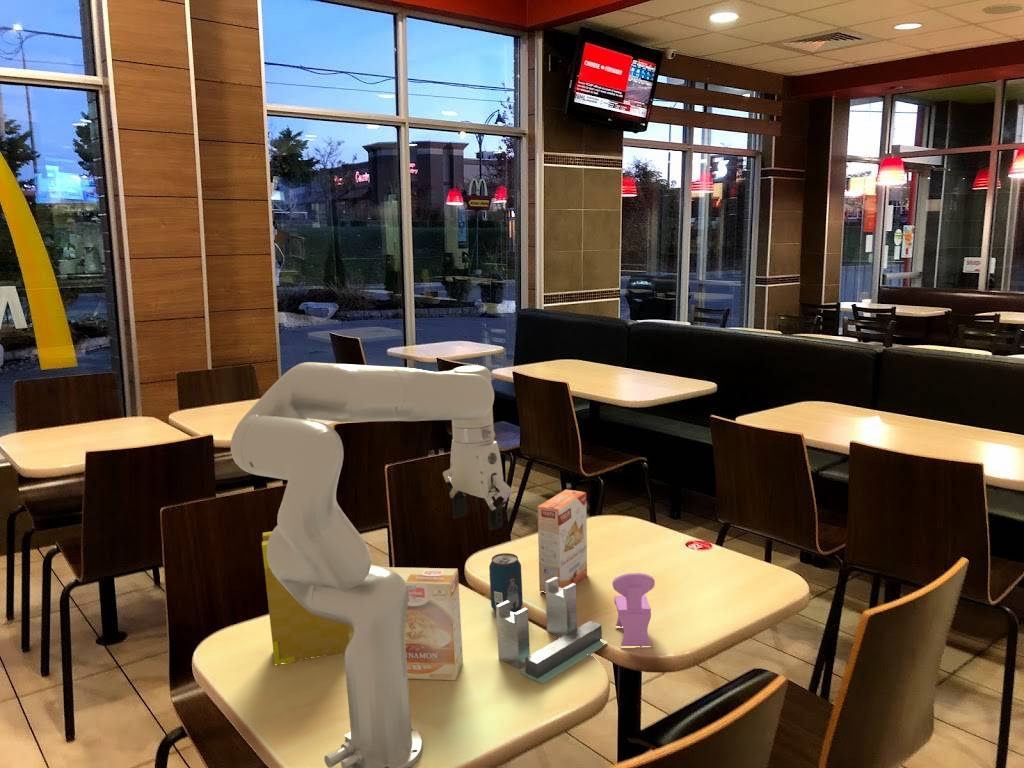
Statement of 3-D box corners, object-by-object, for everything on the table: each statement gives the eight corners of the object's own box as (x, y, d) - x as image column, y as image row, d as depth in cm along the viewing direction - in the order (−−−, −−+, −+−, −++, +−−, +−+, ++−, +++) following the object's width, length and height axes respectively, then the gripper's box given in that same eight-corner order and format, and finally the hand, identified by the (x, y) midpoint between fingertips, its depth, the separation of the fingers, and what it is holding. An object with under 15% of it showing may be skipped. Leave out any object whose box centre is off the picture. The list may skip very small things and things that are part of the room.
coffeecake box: (378, 678, 150) (370, 581, 147) (389, 658, 157) (381, 565, 154) (456, 681, 148) (450, 583, 145) (463, 661, 155) (458, 566, 152)
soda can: (502, 600, 180) (499, 549, 178) (528, 606, 177) (526, 555, 175) (485, 613, 175) (482, 561, 172) (512, 619, 171) (510, 567, 169)
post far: (567, 640, 162) (566, 589, 160) (547, 631, 165) (545, 581, 163) (577, 634, 164) (575, 584, 162) (556, 626, 168) (555, 576, 166)
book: (274, 665, 157) (261, 545, 152) (275, 649, 163) (262, 532, 158) (362, 650, 161) (352, 532, 156) (359, 635, 167) (349, 521, 163)
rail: (537, 678, 147) (536, 663, 146) (525, 673, 149) (524, 658, 149) (601, 639, 160) (601, 625, 160) (590, 634, 162) (589, 620, 162)
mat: (542, 684, 146) (542, 681, 146) (520, 673, 150) (520, 670, 150) (607, 643, 159) (607, 641, 159) (585, 634, 163) (585, 632, 163)
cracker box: (561, 598, 180) (559, 509, 176) (538, 593, 183) (535, 505, 179) (589, 574, 192) (587, 491, 188) (567, 570, 195) (564, 487, 191)
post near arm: (519, 668, 152) (516, 614, 150) (498, 658, 156) (496, 605, 154) (530, 662, 154) (527, 608, 152) (509, 652, 158) (507, 600, 156)
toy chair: (649, 625, 166) (649, 557, 163) (657, 647, 157) (656, 576, 155) (609, 627, 166) (608, 559, 163) (615, 649, 157) (613, 577, 155)
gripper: (521, 436, 143) (525, 527, 146) (457, 423, 155) (462, 507, 158) (491, 445, 138) (495, 539, 141) (427, 430, 150) (432, 517, 153)
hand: (477, 522), depth 150 cm, fingers open, 9 cm apart
